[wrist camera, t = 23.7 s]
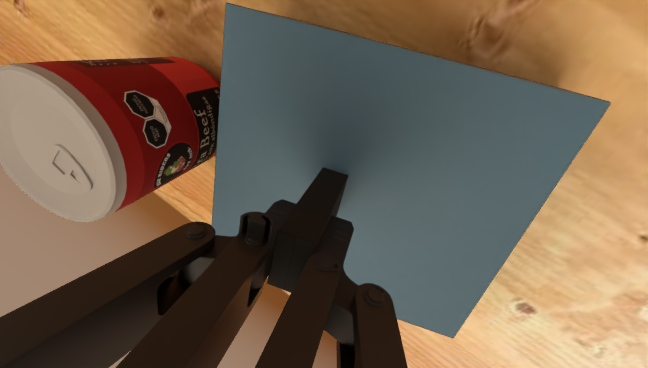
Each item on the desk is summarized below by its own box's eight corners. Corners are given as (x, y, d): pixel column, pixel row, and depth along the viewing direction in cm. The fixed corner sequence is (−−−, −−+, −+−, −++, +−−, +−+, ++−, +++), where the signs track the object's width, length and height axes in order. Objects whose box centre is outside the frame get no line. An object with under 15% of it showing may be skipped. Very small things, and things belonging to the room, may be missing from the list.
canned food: (218, 173, 26) (102, 249, 16) (139, 121, 26) (-25, 165, 16) (252, 96, 22) (130, 135, 12) (161, 34, 22) (-33, 25, 12)
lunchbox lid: (213, 249, 22) (209, 254, 22) (231, 3, 15) (225, 2, 14) (452, 331, 21) (453, 339, 20) (604, 100, 13) (612, 102, 13)
